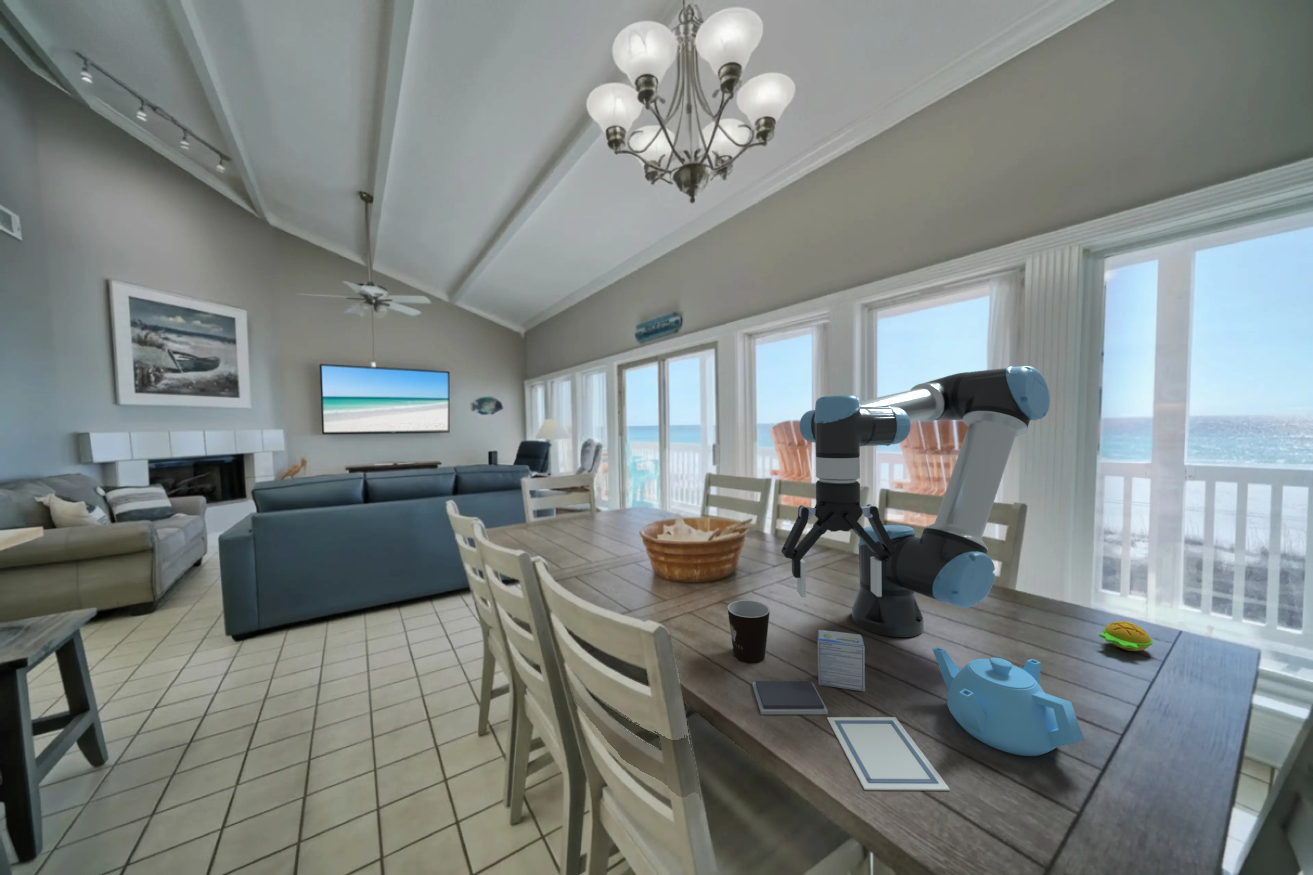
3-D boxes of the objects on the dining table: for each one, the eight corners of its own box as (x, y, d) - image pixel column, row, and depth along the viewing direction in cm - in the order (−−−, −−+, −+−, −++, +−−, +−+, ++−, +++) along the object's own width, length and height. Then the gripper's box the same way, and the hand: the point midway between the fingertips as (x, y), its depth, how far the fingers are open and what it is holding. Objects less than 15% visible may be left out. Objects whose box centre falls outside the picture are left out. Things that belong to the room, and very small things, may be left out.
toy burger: (1158, 651, 89) (1159, 625, 89) (1139, 664, 85) (1139, 637, 85) (1112, 637, 95) (1112, 612, 95) (1091, 648, 91) (1092, 623, 91)
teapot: (955, 750, 64) (955, 678, 64) (931, 691, 78) (931, 631, 78) (1089, 778, 59) (1090, 700, 58) (1038, 709, 73) (1038, 645, 72)
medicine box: (862, 679, 82) (862, 633, 82) (865, 693, 78) (864, 645, 78) (817, 672, 85) (817, 628, 84) (818, 685, 81) (817, 639, 80)
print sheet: (895, 718, 71) (895, 716, 71) (949, 790, 57) (949, 788, 57) (827, 718, 72) (827, 716, 72) (864, 789, 58) (864, 787, 58)
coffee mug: (771, 668, 86) (770, 618, 86) (727, 664, 88) (726, 615, 88) (768, 639, 98) (767, 595, 97) (729, 637, 99) (728, 593, 99)
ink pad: (812, 685, 81) (812, 678, 81) (827, 714, 73) (827, 707, 73) (752, 685, 81) (752, 679, 81) (761, 714, 73) (761, 707, 73)
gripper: (896, 476, 83) (897, 585, 84) (764, 478, 84) (766, 587, 85) (918, 481, 76) (918, 601, 77) (773, 484, 77) (775, 602, 78)
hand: (838, 594), depth 81 cm, fingers open, 13 cm apart
